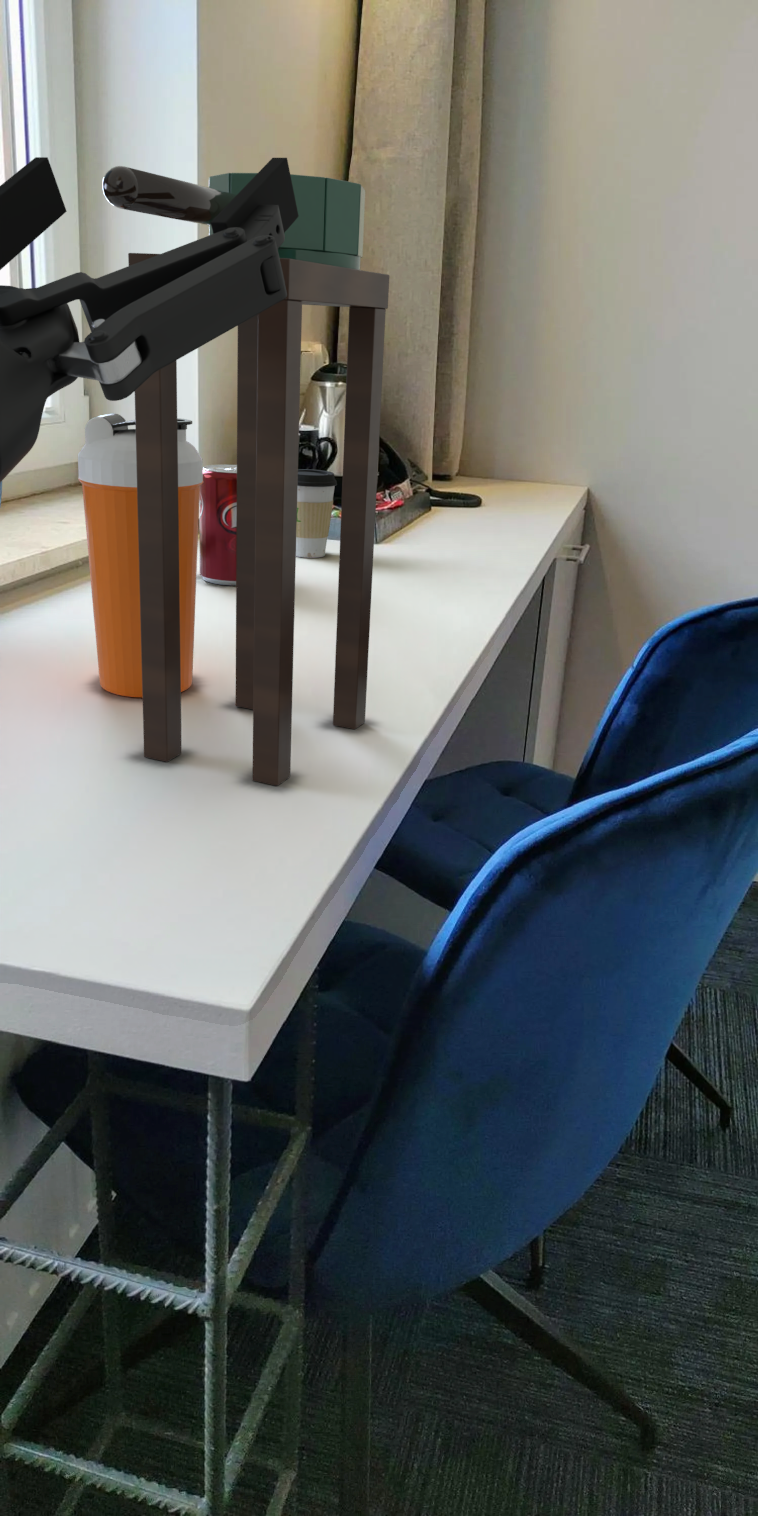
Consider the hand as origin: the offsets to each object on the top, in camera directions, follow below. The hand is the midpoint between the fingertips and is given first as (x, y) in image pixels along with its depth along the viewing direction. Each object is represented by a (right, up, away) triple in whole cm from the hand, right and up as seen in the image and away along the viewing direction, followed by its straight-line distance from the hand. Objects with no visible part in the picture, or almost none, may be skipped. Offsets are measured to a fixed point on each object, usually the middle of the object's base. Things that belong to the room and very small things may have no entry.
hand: (164, 185), depth 55 cm
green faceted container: (+2, -1, +7) cm, 7 cm away
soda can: (-5, -9, +68) cm, 69 cm away
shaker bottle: (-7, -23, +32) cm, 40 cm away
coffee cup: (+2, -3, +83) cm, 83 cm away
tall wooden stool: (+3, -27, +22) cm, 35 cm away
